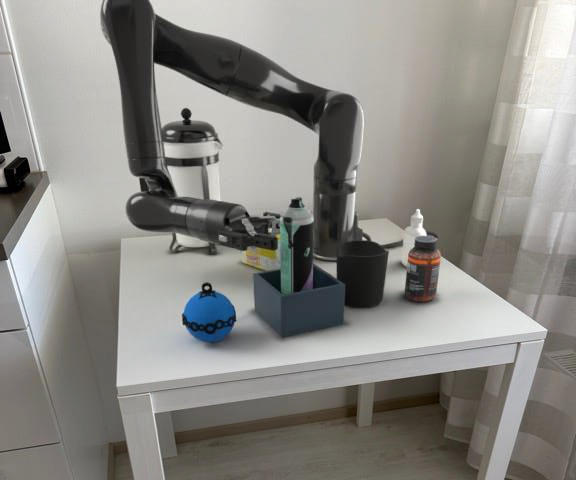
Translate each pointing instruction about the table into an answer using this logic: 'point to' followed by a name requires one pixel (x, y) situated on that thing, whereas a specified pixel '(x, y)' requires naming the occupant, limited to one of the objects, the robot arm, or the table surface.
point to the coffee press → (191, 166)
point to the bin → (299, 303)
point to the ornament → (209, 315)
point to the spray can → (296, 248)
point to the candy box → (263, 257)
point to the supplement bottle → (422, 269)
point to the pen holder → (362, 272)
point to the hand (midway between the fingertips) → (291, 237)
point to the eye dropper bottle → (412, 235)
